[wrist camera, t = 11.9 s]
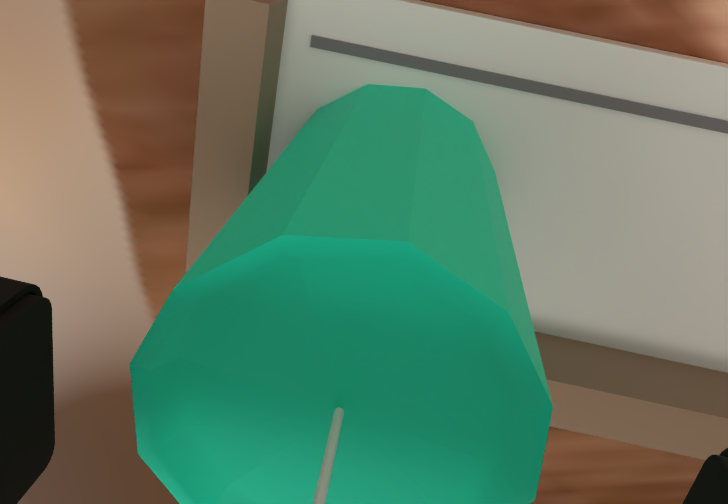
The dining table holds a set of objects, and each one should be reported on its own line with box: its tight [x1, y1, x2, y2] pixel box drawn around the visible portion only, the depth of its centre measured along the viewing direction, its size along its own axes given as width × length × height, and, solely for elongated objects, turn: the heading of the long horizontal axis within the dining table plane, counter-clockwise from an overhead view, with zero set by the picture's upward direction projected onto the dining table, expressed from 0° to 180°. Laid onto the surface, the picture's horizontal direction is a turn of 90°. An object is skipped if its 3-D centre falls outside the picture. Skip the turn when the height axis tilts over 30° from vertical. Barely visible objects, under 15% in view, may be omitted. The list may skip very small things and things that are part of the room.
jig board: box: [185, 0, 728, 460], centre depth 18 cm, size 18×10×4 cm, turn 80°
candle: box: [130, 84, 553, 504], centre depth 13 cm, size 6×6×12 cm
